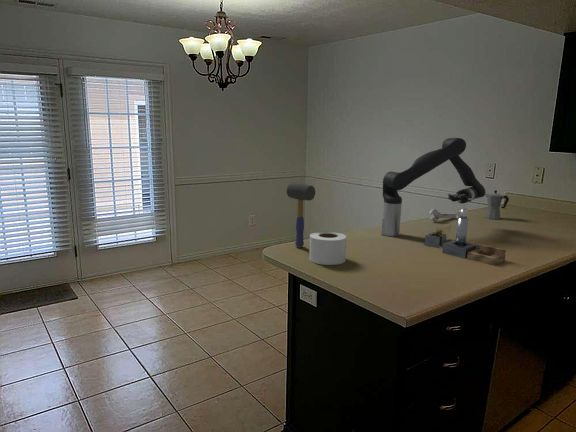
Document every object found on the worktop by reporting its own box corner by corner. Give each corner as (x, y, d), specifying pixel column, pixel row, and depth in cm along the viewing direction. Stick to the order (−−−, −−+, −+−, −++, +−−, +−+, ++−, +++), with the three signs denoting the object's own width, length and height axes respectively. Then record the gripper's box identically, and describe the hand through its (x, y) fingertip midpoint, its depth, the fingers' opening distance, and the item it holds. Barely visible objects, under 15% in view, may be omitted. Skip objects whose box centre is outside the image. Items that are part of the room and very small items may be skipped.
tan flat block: (444, 238, 226) (445, 224, 225) (450, 239, 224) (451, 224, 223) (435, 242, 217) (436, 227, 216) (441, 243, 215) (442, 228, 214)
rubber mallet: (284, 246, 206) (285, 182, 200) (294, 243, 211) (295, 181, 205) (304, 251, 198) (306, 185, 192) (314, 248, 203) (316, 184, 197)
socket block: (442, 252, 200) (443, 243, 199) (454, 248, 207) (455, 239, 206) (465, 258, 192) (466, 248, 191) (477, 254, 199) (478, 244, 198)
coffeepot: (478, 217, 283) (481, 189, 279) (486, 215, 288) (489, 188, 285) (502, 221, 271) (505, 192, 267) (509, 219, 276) (513, 191, 273)
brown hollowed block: (466, 258, 192) (467, 247, 191) (477, 254, 198) (478, 244, 197) (493, 265, 183) (495, 254, 182) (504, 261, 189) (505, 250, 188)
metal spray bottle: (455, 249, 197) (459, 210, 194) (454, 246, 201) (458, 208, 198) (465, 250, 196) (470, 210, 192) (464, 247, 200) (468, 208, 197)
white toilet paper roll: (308, 254, 194) (309, 230, 192) (343, 255, 194) (344, 231, 191) (309, 265, 179) (310, 239, 177) (347, 266, 179) (348, 240, 176)
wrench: (458, 222, 280) (429, 222, 262) (455, 222, 281) (427, 221, 263) (460, 210, 279) (431, 209, 261) (457, 209, 280) (429, 208, 262)
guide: (431, 241, 219) (432, 232, 218) (445, 244, 215) (446, 234, 214) (424, 245, 212) (425, 235, 211) (438, 247, 208) (439, 237, 207)
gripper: (453, 187, 240) (441, 191, 227) (478, 190, 232) (467, 193, 219) (452, 201, 242) (440, 205, 229) (477, 204, 233) (465, 208, 220)
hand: (453, 199), depth 224 cm, fingers closed
